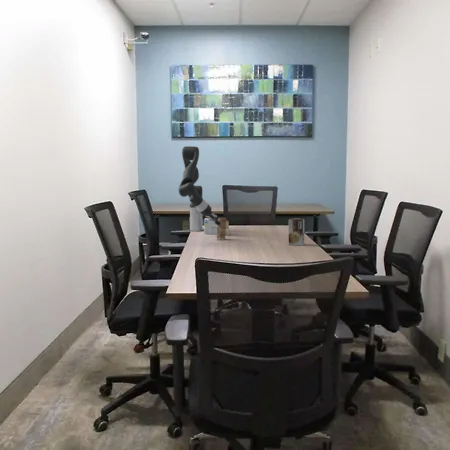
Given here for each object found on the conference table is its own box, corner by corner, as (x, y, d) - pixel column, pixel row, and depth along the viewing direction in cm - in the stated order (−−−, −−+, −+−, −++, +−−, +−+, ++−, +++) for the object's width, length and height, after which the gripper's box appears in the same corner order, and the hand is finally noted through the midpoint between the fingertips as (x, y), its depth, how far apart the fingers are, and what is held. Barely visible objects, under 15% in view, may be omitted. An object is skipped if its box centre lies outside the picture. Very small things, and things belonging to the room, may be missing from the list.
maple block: (220, 235, 319) (220, 220, 317) (225, 234, 321) (225, 220, 320) (224, 235, 316) (223, 221, 314) (228, 235, 318) (228, 220, 317)
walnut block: (216, 238, 302) (217, 217, 301) (221, 238, 305) (222, 217, 303) (220, 239, 299) (221, 218, 298) (225, 239, 301) (226, 218, 300)
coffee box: (304, 243, 284) (305, 218, 281) (302, 245, 278) (303, 219, 275) (290, 243, 287) (290, 217, 284) (288, 245, 281) (288, 219, 278)
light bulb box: (220, 232, 328) (219, 218, 327) (219, 234, 322) (218, 219, 320) (205, 232, 329) (205, 217, 328) (204, 234, 323) (203, 219, 321)
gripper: (212, 203, 286) (227, 220, 295) (200, 201, 297) (216, 218, 306) (205, 212, 284) (221, 229, 293) (193, 210, 295) (209, 227, 304)
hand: (218, 224), depth 299 cm, fingers closed
